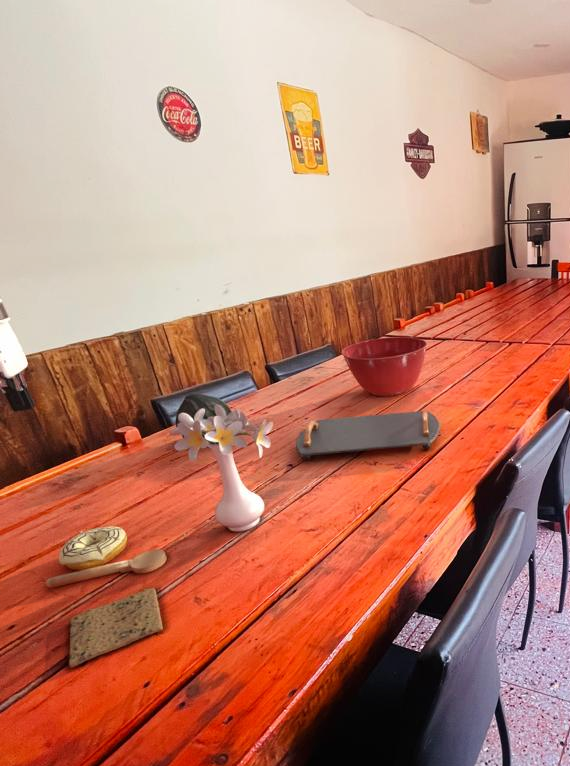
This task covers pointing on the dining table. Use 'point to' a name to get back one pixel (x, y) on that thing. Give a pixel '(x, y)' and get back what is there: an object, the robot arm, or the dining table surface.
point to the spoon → (113, 568)
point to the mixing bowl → (386, 364)
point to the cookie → (113, 626)
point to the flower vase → (226, 460)
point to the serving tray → (367, 433)
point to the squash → (200, 406)
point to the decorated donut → (93, 548)
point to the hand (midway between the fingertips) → (24, 408)
